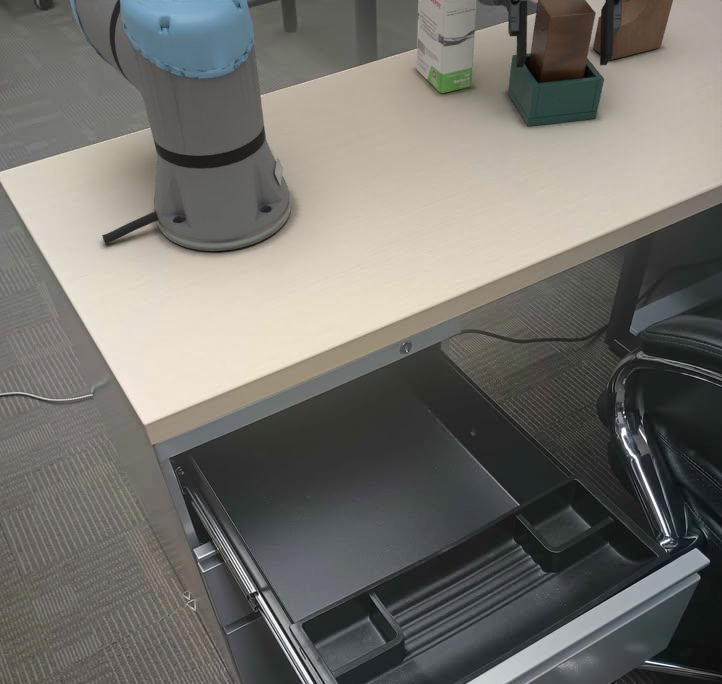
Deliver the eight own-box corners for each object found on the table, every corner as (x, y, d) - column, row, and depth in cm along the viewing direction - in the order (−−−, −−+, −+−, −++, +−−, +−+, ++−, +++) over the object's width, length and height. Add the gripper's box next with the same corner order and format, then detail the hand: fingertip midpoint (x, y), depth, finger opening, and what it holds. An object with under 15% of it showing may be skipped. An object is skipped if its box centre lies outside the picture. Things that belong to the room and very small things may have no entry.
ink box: (472, 88, 105) (480, -9, 95) (439, 94, 104) (444, -2, 94) (446, 62, 110) (451, -32, 100) (414, 69, 109) (416, -26, 99)
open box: (527, 126, 98) (533, 86, 94) (507, 93, 103) (512, 54, 99) (595, 118, 98) (604, 78, 94) (572, 86, 104) (579, 47, 100)
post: (536, 110, 98) (550, 16, 90) (525, 90, 102) (537, -2, 93) (577, 106, 98) (596, 12, 90) (565, 86, 102) (581, -6, 93)
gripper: (650, -119, 94) (644, 72, 97) (469, -113, 95) (469, 76, 97) (673, -163, 87) (666, 45, 89) (477, -156, 87) (476, 50, 90)
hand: (563, 61), depth 93 cm, fingers open, 10 cm apart
